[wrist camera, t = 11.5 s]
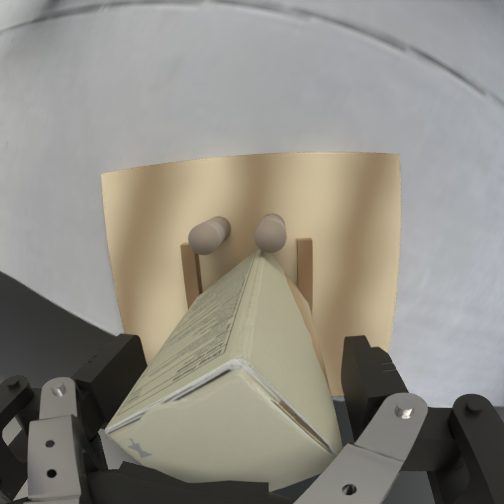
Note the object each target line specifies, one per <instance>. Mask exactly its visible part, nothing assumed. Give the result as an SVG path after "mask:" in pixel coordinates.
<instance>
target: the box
mask: <svg viewBox="0 0 504 504" xmlns="http://www.w3.org/2000/svg"><path fill="white" fill-rule="evenodd" d="M105 434H106V436H108V437H109V438H110V439H111V440H112V441H114V442H115V443H116V444H117V445H118V446H120V447H121V448H122V449H123V450H125V451H126V452H127V453H128V454H129V455H131V456H132V457H133V458H134V459H136V460H137V461H138V462H140V463H141V464H142V465H143V466H145V467H149V468H153V469H156V470H158V471H160V472H163V473H165V474H167V475H169V476H172V477H174V478H176V479H179V480H181V481H184V482H187V483H202V482H216V481H227V480H232V481H246V482H269V492H271V491H274V490H277V489H281V488H284V487H287V486H289V485H292V484H295V483H298V482H300V481H303V480H305V479H308V478H311V477H313V476H315V475H318V474H320V473H323V472H324V471H325V470H326V469H327V467H328V466H329V465H330V464H331V463H332V462H333V460H334V459H335V458H336V457H337V456H338V454H339V453H340V452H341V451H342V449H343V446H342V441H341V435H340V431H339V427H338V422H337V418H336V413H335V408H334V404H333V400H332V396H331V391H330V387H329V383H328V379H327V375H326V370H325V365H324V362H323V358H322V354H321V350H320V346H319V343H318V338H317V334H316V330H315V326H314V322H313V318H312V314H311V311H310V307H309V304H308V302H307V301H306V299H305V298H304V297H303V295H302V294H301V292H300V291H299V289H298V288H297V287H296V285H295V284H294V283H293V281H292V280H291V279H290V277H289V276H288V275H287V274H286V272H285V271H284V270H283V268H282V267H281V266H280V265H279V263H278V262H277V261H276V260H275V258H274V257H273V256H272V255H271V254H270V253H267V252H264V251H262V250H260V249H259V250H258V251H256V252H255V253H253V254H252V255H251V256H249V257H248V258H246V259H245V260H244V261H242V262H241V263H240V264H238V265H237V266H236V267H234V268H233V269H232V270H230V271H229V272H228V273H227V274H225V275H224V276H223V277H222V278H220V279H219V280H218V281H216V282H215V283H214V284H213V285H211V286H210V287H209V288H208V289H206V290H205V291H204V292H203V293H202V294H200V295H199V296H198V297H197V298H196V300H195V301H194V302H193V304H192V305H191V307H190V308H189V309H188V311H187V312H186V314H185V315H184V316H183V317H182V319H181V320H180V322H179V323H178V325H177V326H176V327H175V329H174V330H173V331H172V333H171V334H170V336H169V337H168V338H167V340H166V341H165V343H164V344H163V345H162V347H161V348H160V350H159V351H158V352H157V354H156V355H155V357H154V358H153V359H152V361H151V362H150V364H149V365H148V367H147V368H146V369H145V371H144V372H143V374H142V375H141V377H140V378H139V379H138V381H137V382H136V384H135V385H134V387H133V388H132V390H131V391H130V393H129V394H128V396H127V397H126V398H125V400H124V401H123V403H122V404H121V406H120V408H119V409H118V411H117V412H116V413H115V415H114V416H113V418H112V419H111V421H110V422H109V424H108V425H107V427H106V428H105Z"/></svg>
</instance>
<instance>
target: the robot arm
mask: <svg viewBox="0 0 504 504" xmlns="http://www.w3.org/2000/svg"><path fill="white" fill-rule="evenodd" d="M147 367H148V366H147V362H146V359H145V355H144V351H143V347H142V343H141V339H140V337H139V336H138V335H133V334H119V335H118V336H117V337H116V338H115V339H114V340H113V341H112V342H111V343H110V344H108V345H106V346H105V347H103V348H101V349H100V350H98V351H97V352H96V353H95V354H94V355H93V357H91V358H90V359H89V360H88V362H86V363H85V364H84V365H83V366H82V367H81V368H80V369H79V370H78V371H77V372H76V373H75V374H74V375H73V376H72V377H71V378H67V377H59V378H55V379H52V380H50V381H48V382H47V383H46V384H45V385H44V386H43V388H31V386H30V384H29V382H28V380H27V378H26V377H24V376H21V375H16V376H12V377H10V378H8V379H6V380H5V381H3V383H1V384H0V504H382V502H383V500H384V499H385V497H386V496H387V494H388V492H389V491H390V489H391V487H392V486H393V484H394V482H395V481H396V479H397V477H398V475H399V474H400V472H401V471H427V475H428V478H429V482H430V485H431V489H432V493H433V497H434V500H435V504H504V423H503V421H502V420H501V418H500V416H499V415H498V413H497V412H496V410H495V409H494V407H493V406H492V404H491V403H490V401H489V400H488V399H486V398H485V397H483V396H480V395H477V394H466V395H462V396H460V397H459V398H457V399H456V401H455V402H454V405H453V407H452V408H431V407H428V406H427V404H426V402H425V401H424V400H423V399H422V398H421V397H419V396H417V395H415V394H411V393H409V392H408V390H407V388H406V386H405V384H404V382H403V380H402V378H401V377H400V375H399V373H398V371H397V370H396V367H395V365H394V364H393V363H392V360H391V358H390V356H389V354H388V353H387V352H385V351H384V350H383V349H381V348H380V347H371V346H370V344H369V342H368V340H367V338H366V336H365V335H358V336H346V337H345V339H344V346H343V357H342V366H341V385H342V390H343V394H344V398H345V402H346V406H347V410H348V415H349V419H350V424H351V428H352V432H353V437H354V442H355V443H354V444H353V443H348V444H347V445H346V446H345V447H344V448H343V449H342V451H341V452H340V453H339V454H338V456H337V457H336V458H335V459H334V460H333V462H332V463H331V464H330V465H329V466H328V467H327V469H326V470H325V471H324V472H323V473H322V474H321V475H320V477H319V478H318V479H317V480H316V481H315V482H314V483H313V484H312V485H311V486H310V487H309V488H308V489H307V490H306V491H305V492H304V493H303V494H302V496H301V497H299V499H298V500H296V501H295V500H293V499H290V498H288V497H286V496H283V495H279V494H276V493H272V492H269V482H246V481H232V480H227V481H216V482H202V483H187V482H184V481H181V480H179V479H176V478H174V477H172V476H169V475H167V474H165V473H163V472H160V471H158V470H156V469H153V468H149V467H144V466H140V465H136V464H133V463H129V462H125V461H123V463H122V464H121V466H120V468H119V469H112V470H108V466H107V463H106V459H105V455H104V451H103V447H102V442H101V438H100V435H99V433H98V431H99V429H100V428H101V429H104V430H105V428H106V427H107V425H108V424H109V422H110V421H111V419H112V418H113V416H114V415H115V413H116V412H117V411H118V409H119V408H120V406H121V404H122V403H123V401H124V400H125V398H126V397H127V396H128V394H129V393H130V391H131V390H132V388H133V387H134V385H135V384H136V382H137V381H138V379H139V378H140V377H141V375H142V374H143V372H144V371H145V369H146V368H147ZM14 416H15V418H16V420H17V421H18V423H19V425H20V426H21V428H22V430H21V431H20V433H19V434H18V435H17V436H16V437H15V438H14V440H13V441H12V442H11V443H10V444H9V446H7V445H6V443H5V442H4V440H3V438H2V431H3V429H4V427H5V426H6V425H7V424H8V423H9V422H10V421H11V420H12V419H13V417H14ZM27 479H28V497H25V498H22V499H19V500H15V501H13V499H14V498H15V496H16V495H17V493H18V492H19V490H20V489H21V487H22V486H23V484H24V483H25V482H26V480H27Z"/></svg>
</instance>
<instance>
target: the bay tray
mask: <svg viewBox="0 0 504 504" xmlns="http://www.w3.org/2000/svg"><path fill="white" fill-rule="evenodd" d="M101 177H102V192H103V205H104V215H105V225H106V233H107V241H108V248H109V255H110V262H111V268H112V274H113V280H114V285H115V291H116V296H117V301H118V306H119V310H120V315H121V319H122V324H123V328H124V332H125V334H133V335H138V336H139V337H140V339H141V343H142V347H143V351H144V355H145V359H146V362H147V366H148V365H149V364H150V362H151V361H152V359H153V358H154V357H155V355H156V354H157V352H158V351H159V350H160V348H161V347H162V345H163V344H164V343H165V341H166V340H167V338H168V337H169V336H170V334H171V333H172V331H173V330H174V329H175V327H176V326H177V325H178V323H179V322H180V320H181V319H182V317H183V316H184V315H185V314H186V312H187V311H188V309H189V308H190V307H191V305H192V304H193V302H194V301H195V300H196V298H197V297H198V296H199V295H200V294H202V293H203V292H204V291H205V290H206V289H208V288H209V287H210V286H211V285H213V284H214V283H215V282H216V281H218V280H219V279H220V278H222V277H223V276H224V275H225V274H227V273H228V272H229V271H230V270H232V269H233V268H234V267H236V266H237V265H238V264H240V263H241V262H242V261H244V260H245V259H246V258H248V257H249V256H251V255H252V254H253V253H255V252H256V251H258V250H259V249H260V250H262V251H264V252H267V253H270V254H271V255H272V256H273V257H274V258H275V260H276V261H277V262H278V263H279V265H280V266H281V267H282V268H283V270H284V271H285V272H286V274H287V275H288V276H289V277H290V279H291V280H292V281H293V283H294V284H295V285H296V287H297V288H298V289H299V291H300V292H301V294H302V295H303V297H304V298H305V299H306V301H307V302H308V304H309V307H310V311H311V314H312V318H313V322H314V326H315V330H316V334H317V338H318V343H319V346H320V350H321V354H322V358H323V362H324V365H325V370H326V375H327V379H328V383H329V387H330V391H331V396H332V397H335V396H344V394H343V390H342V385H341V366H342V357H343V346H344V339H345V337H346V336H358V335H365V336H366V338H367V340H368V342H369V344H370V346H371V347H380V348H381V349H383V350H384V351H385V352H387V353H388V352H389V346H390V340H391V333H392V327H393V319H394V312H395V303H396V294H397V284H398V272H399V257H400V236H401V182H400V160H399V154H388V153H363V152H296V153H271V154H253V155H238V156H226V157H215V158H205V159H195V160H187V161H179V162H171V163H163V164H156V165H150V166H143V167H137V168H131V169H125V170H119V171H114V172H108V173H103V174H101Z"/></svg>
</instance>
